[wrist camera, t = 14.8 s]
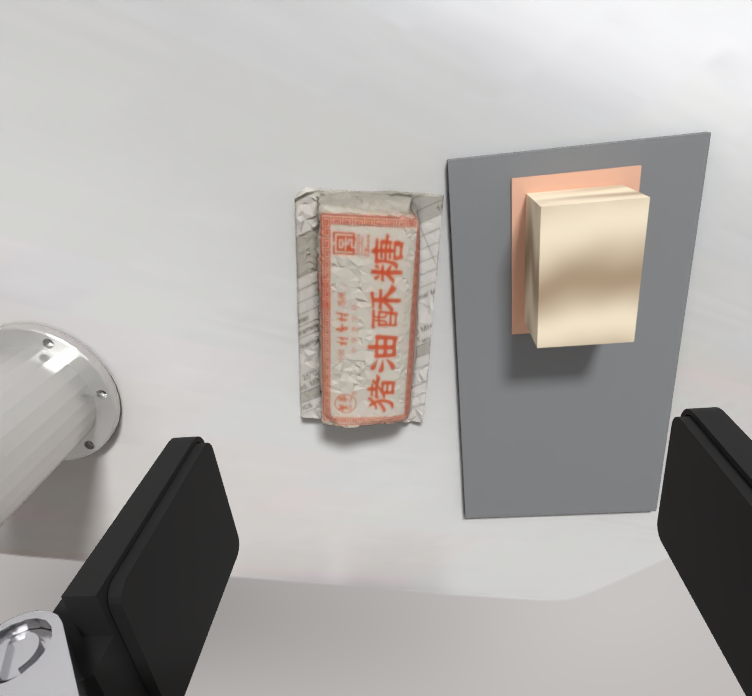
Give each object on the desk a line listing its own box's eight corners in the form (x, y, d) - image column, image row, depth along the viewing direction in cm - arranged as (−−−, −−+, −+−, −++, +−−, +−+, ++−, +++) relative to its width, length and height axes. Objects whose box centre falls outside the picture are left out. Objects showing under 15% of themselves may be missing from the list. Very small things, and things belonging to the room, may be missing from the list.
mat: (465, 513, 48) (465, 519, 47) (447, 159, 35) (447, 160, 34) (653, 506, 46) (657, 512, 45) (706, 132, 33) (712, 132, 33)
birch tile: (526, 193, 35) (541, 207, 31) (622, 184, 34) (650, 197, 30) (524, 321, 39) (537, 348, 35) (610, 315, 38) (634, 342, 34)
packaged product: (281, 197, 32) (447, 205, 32) (297, 184, 37) (443, 191, 36) (291, 443, 40) (424, 451, 40) (303, 408, 45) (423, 416, 44)
